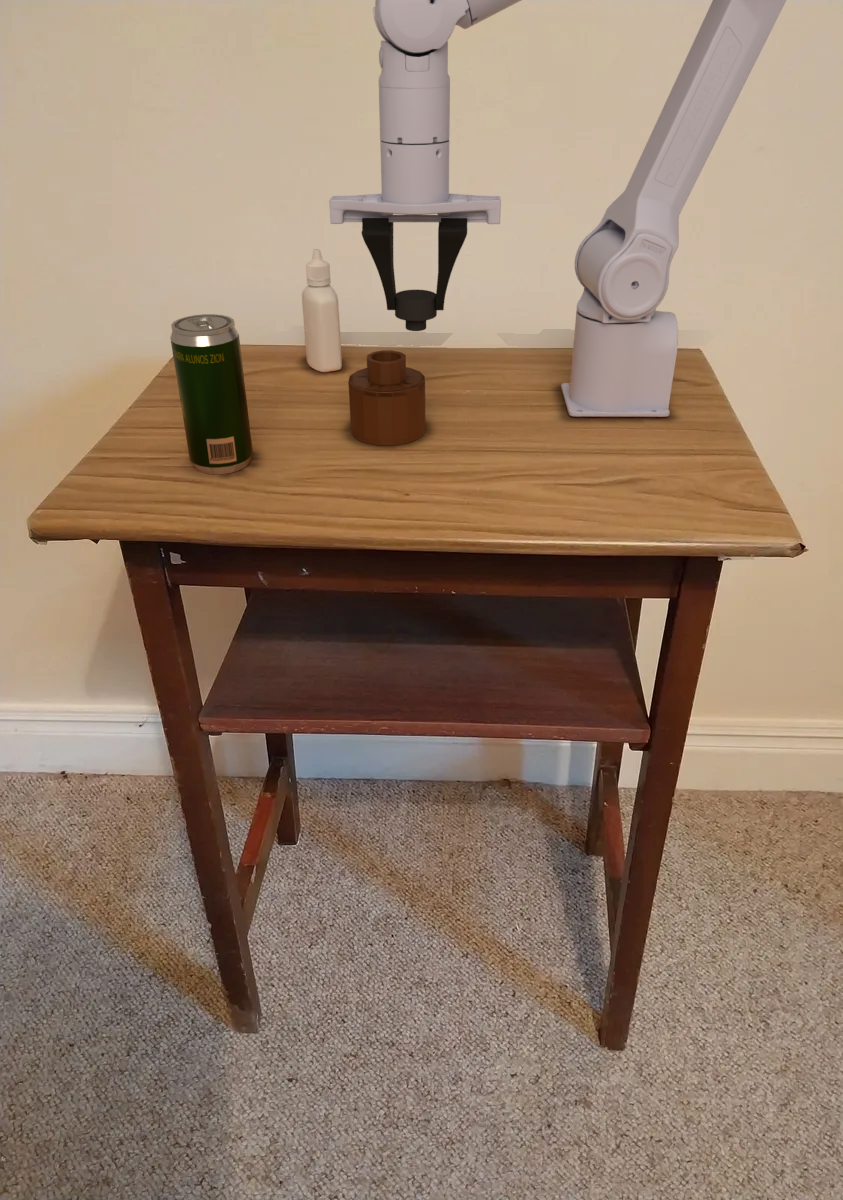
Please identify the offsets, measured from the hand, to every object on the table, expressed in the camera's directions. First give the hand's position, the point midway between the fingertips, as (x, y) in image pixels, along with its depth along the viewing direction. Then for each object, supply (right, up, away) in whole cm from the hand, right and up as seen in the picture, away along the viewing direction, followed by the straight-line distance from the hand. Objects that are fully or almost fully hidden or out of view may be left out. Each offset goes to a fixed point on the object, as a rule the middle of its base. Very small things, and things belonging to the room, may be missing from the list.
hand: (416, 307), depth 82 cm
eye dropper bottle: (-10, -1, +17) cm, 20 cm away
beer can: (-17, -15, -4) cm, 23 cm away
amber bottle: (-3, -11, +2) cm, 11 cm away
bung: (0, -2, +1) cm, 2 cm away
